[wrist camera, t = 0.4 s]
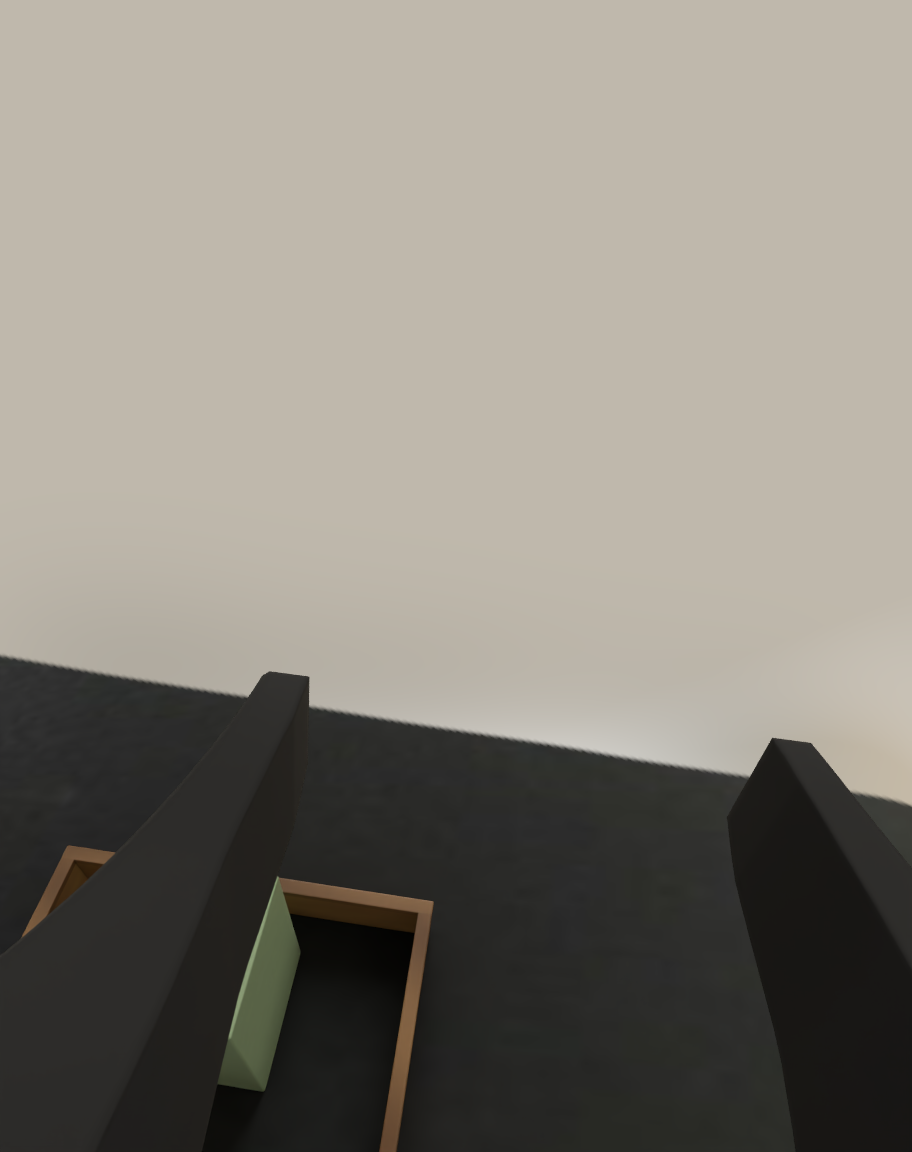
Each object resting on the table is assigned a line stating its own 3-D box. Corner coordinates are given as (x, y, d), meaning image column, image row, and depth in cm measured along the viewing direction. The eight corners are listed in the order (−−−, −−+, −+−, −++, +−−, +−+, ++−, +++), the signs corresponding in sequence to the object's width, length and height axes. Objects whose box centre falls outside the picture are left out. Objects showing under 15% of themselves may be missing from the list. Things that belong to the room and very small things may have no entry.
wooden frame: (326, 1632, 18) (318, 1665, 17) (-221, 1517, 19) (-281, 1538, 17) (432, 923, 30) (433, 901, 28) (85, 870, 30) (67, 844, 29)
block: (264, 1092, 26) (230, 1039, 21) (134, 1070, 26) (69, 1013, 21) (301, 951, 29) (279, 875, 24) (184, 932, 29) (137, 853, 24)
